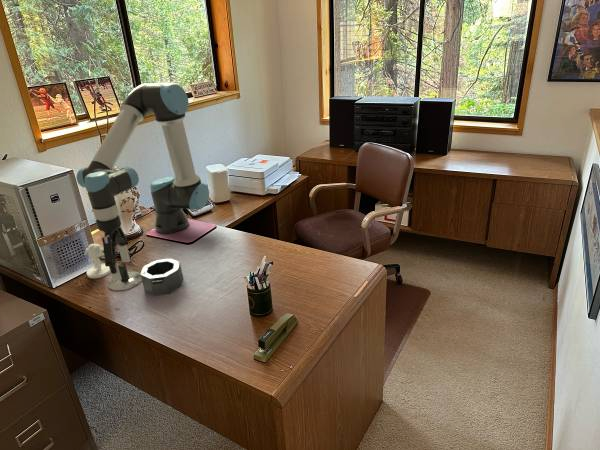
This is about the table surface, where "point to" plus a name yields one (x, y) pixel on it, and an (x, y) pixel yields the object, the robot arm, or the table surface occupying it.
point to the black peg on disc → (125, 279)
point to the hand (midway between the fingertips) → (122, 270)
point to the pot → (162, 277)
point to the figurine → (96, 262)
